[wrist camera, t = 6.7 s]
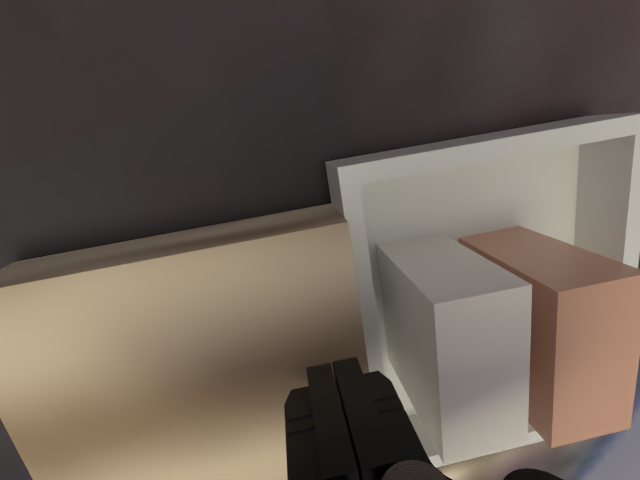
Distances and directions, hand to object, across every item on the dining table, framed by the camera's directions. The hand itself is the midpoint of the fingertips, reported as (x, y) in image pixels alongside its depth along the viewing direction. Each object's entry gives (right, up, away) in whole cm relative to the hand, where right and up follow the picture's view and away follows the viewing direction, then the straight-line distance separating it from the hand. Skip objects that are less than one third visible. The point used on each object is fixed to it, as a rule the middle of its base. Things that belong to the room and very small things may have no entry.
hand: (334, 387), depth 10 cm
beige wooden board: (-5, 0, +3) cm, 6 cm away
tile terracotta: (+6, +1, +2) cm, 6 cm away
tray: (+6, +2, +4) cm, 7 cm away
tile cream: (+2, +1, +1) cm, 3 cm away
